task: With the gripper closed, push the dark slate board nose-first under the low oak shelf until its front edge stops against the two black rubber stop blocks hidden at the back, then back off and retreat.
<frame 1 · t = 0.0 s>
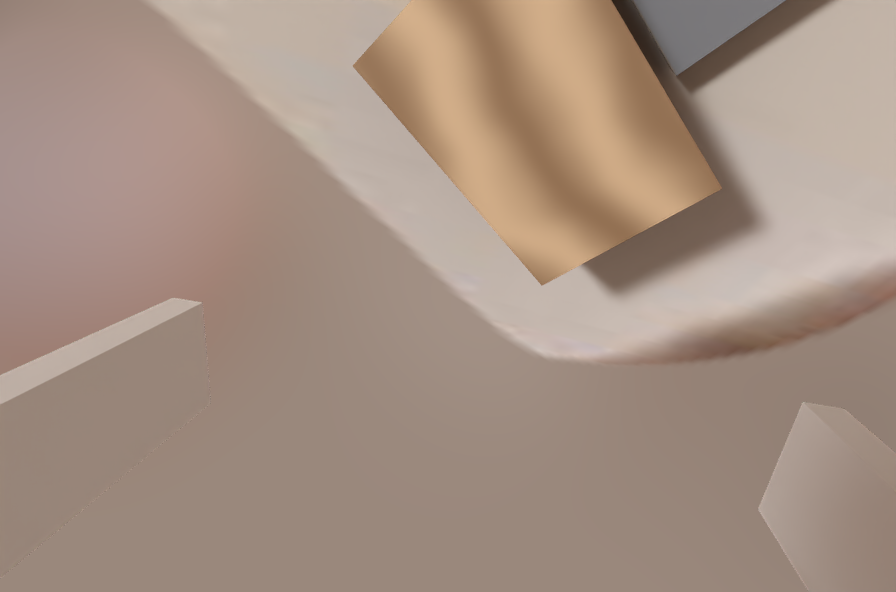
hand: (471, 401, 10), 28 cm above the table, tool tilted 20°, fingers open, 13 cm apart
oak shelf: (542, 89, 32), on the table
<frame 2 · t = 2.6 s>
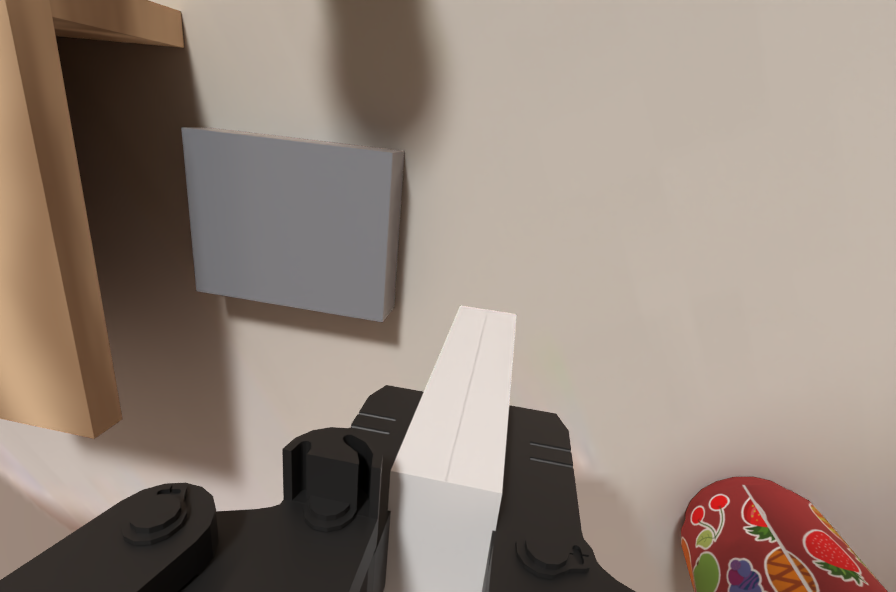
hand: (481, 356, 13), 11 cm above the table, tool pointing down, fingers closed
oak shelf: (98, 192, 25), on the table
slate board: (309, 218, 24), on the table
smoothie: (739, 514, 25), on the table
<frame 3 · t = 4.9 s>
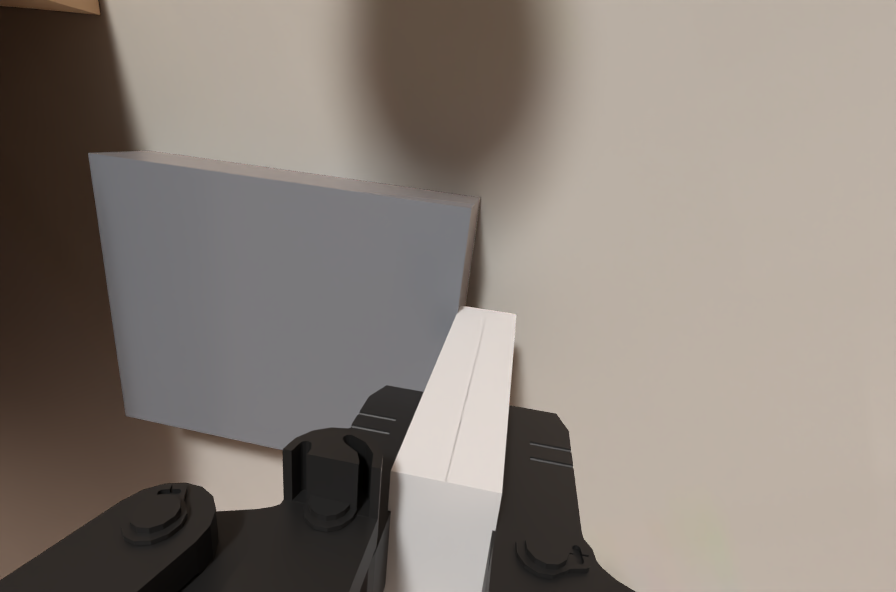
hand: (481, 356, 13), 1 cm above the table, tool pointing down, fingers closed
slate board: (312, 298, 15), on the table, touching gripper
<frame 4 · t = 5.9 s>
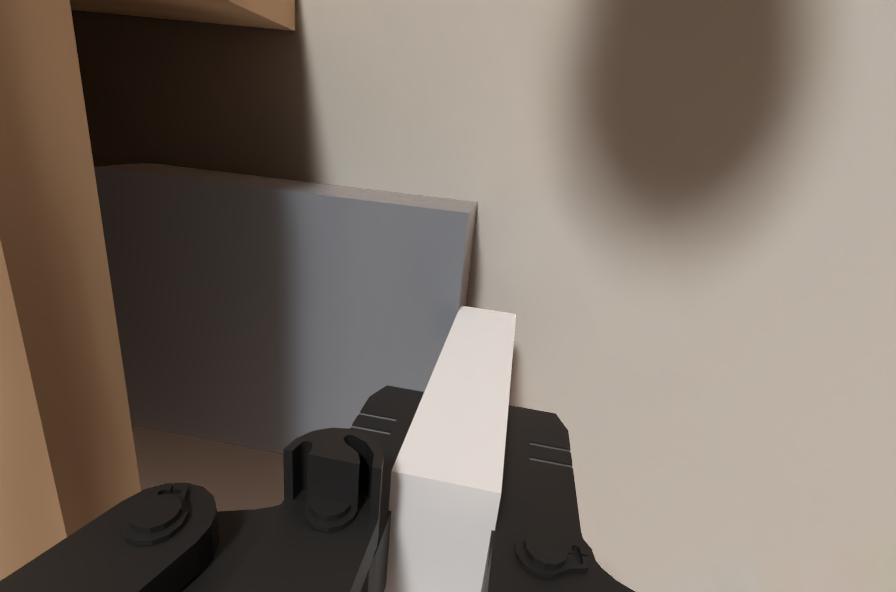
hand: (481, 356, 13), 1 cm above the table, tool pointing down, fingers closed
oak shelf: (124, 271, 15), on the table
slate board: (314, 304, 15), on the table, touching gripper
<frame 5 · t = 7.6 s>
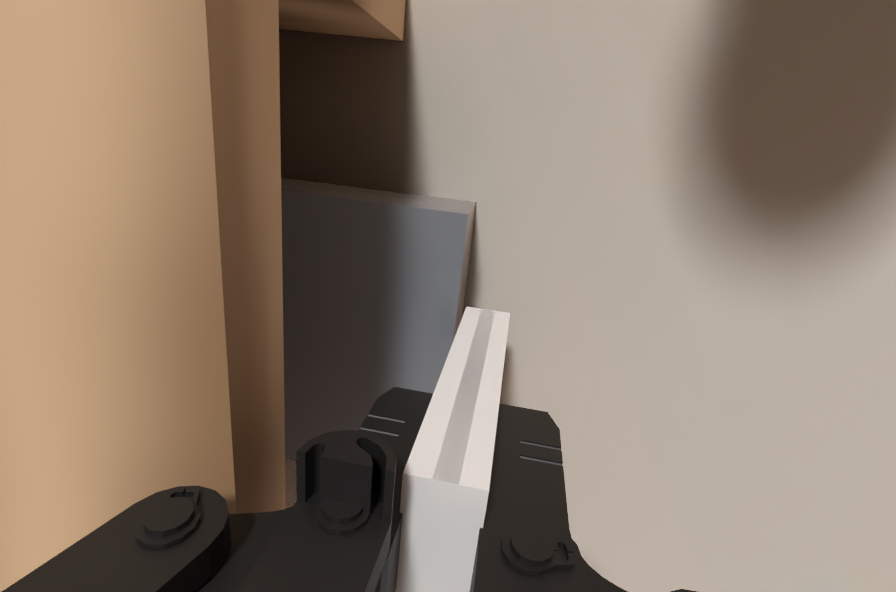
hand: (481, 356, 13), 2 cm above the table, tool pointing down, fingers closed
oak shelf: (202, 286, 15), on the table
slate board: (309, 305, 15), on the table
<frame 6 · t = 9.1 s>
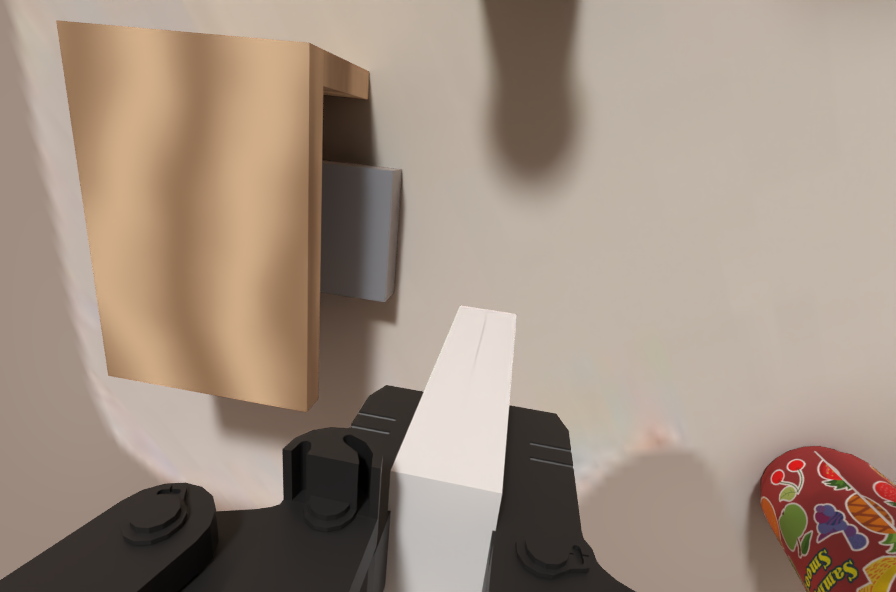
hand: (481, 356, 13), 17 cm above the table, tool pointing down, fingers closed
oak shelf: (274, 213, 31), on the table
slate board: (326, 222, 31), on the table
smoothie: (805, 479, 31), on the table
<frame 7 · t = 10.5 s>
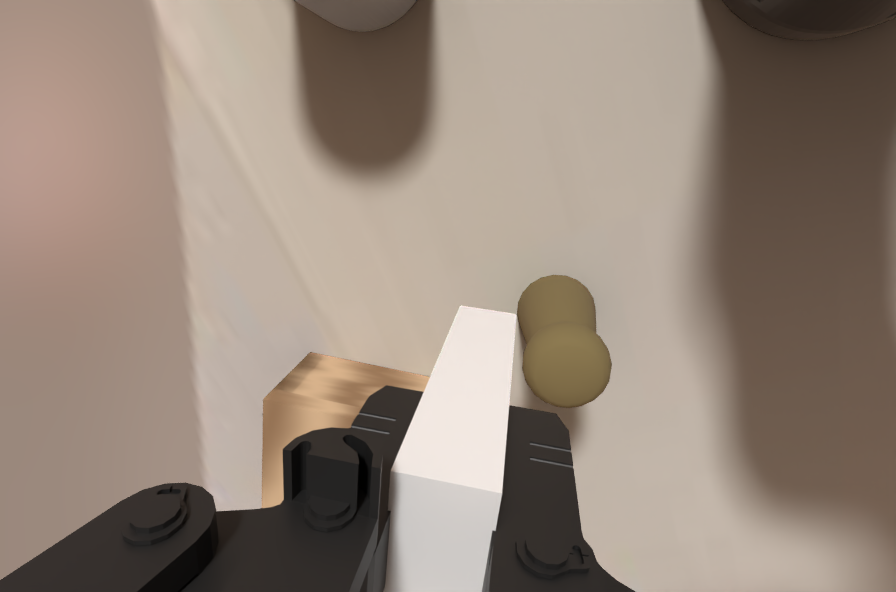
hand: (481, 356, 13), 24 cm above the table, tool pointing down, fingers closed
cork: (555, 310, 37), on the table
oak shelf: (366, 449, 44), on the table
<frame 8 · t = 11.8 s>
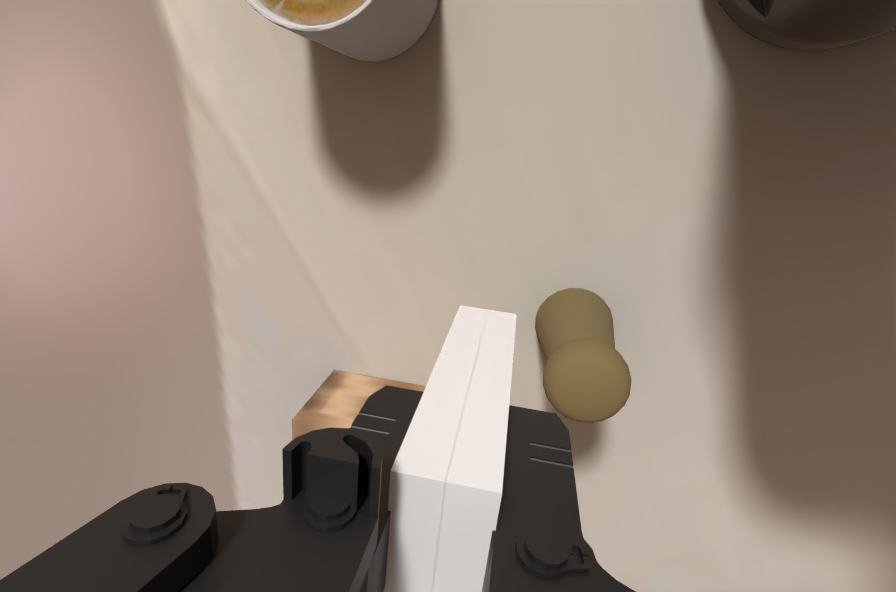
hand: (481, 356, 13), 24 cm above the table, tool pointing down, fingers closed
cork: (573, 323, 38), on the table
oak shelf: (391, 463, 45), on the table
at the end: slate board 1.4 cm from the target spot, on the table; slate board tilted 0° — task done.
